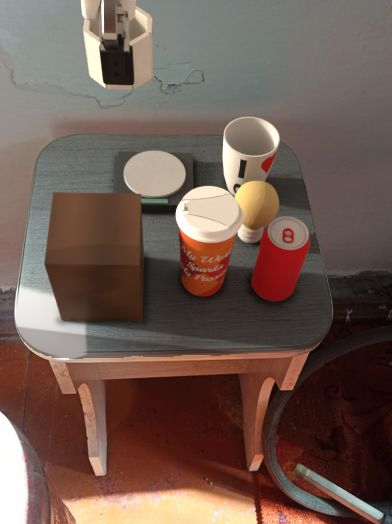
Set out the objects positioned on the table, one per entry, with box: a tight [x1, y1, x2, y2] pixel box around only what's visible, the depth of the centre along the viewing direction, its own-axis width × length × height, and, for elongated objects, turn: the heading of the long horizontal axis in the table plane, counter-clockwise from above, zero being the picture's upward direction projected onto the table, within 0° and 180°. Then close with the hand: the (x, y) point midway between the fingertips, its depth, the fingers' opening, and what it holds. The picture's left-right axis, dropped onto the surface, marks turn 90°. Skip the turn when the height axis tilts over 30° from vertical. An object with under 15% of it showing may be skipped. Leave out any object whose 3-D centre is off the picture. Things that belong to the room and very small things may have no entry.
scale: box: [114, 150, 195, 213], centre depth 88 cm, size 12×11×2 cm
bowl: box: [82, 5, 155, 91], centre depth 58 cm, size 7×7×5 cm
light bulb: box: [234, 181, 280, 244], centre depth 81 cm, size 6×6×10 cm
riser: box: [43, 191, 145, 322], centre depth 74 cm, size 11×11×13 cm
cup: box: [222, 116, 281, 197], centre depth 85 cm, size 8×8×10 cm
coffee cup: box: [175, 185, 244, 297], centre depth 74 cm, size 8×8×15 cm
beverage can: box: [251, 215, 311, 302], centre depth 76 cm, size 6×6×12 cm
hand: (120, 57), depth 60 cm, fingers closed on bowl, 6 cm apart
